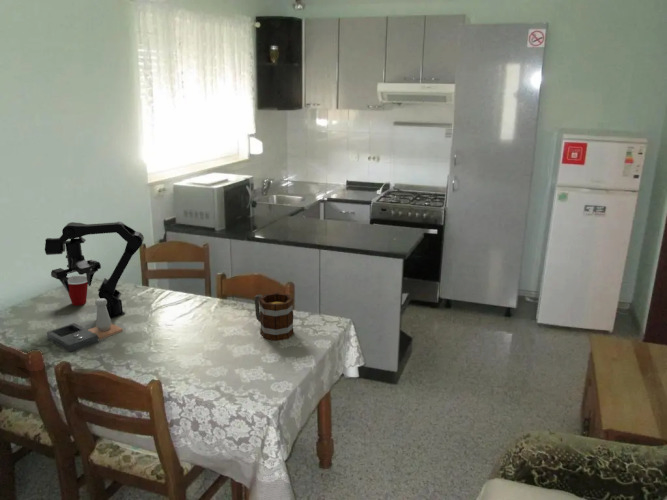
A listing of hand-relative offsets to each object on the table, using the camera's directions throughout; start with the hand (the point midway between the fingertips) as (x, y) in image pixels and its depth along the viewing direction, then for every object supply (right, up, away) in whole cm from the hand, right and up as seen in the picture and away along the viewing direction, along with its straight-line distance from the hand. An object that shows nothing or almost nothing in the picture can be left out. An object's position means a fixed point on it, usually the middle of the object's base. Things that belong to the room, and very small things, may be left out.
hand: (79, 288), depth 230 cm
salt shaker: (+15, -16, -11) cm, 24 cm away
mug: (+83, -17, -9) cm, 85 cm away
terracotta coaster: (+15, -17, -10) cm, 25 cm away
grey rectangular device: (+6, -19, -18) cm, 27 cm away
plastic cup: (-8, -8, +19) cm, 22 cm away
